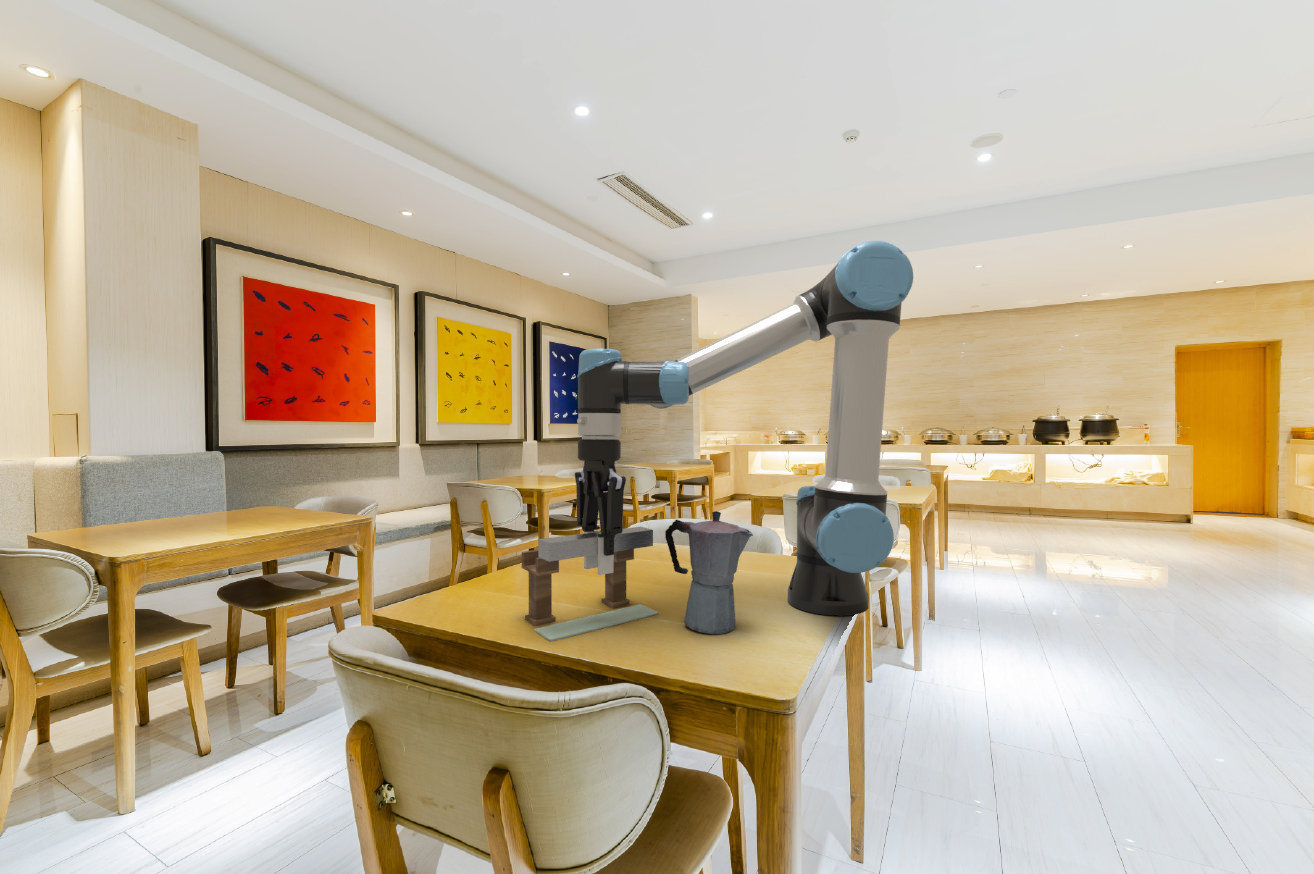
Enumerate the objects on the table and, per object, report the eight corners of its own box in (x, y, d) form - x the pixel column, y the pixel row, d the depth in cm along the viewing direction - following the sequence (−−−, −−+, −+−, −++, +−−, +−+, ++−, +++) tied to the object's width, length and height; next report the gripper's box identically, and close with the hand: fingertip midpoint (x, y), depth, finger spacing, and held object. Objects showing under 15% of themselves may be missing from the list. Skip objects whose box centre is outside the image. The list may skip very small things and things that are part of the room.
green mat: (659, 613, 102) (659, 612, 102) (550, 641, 88) (550, 639, 88) (640, 605, 107) (640, 604, 107) (534, 630, 93) (534, 628, 93)
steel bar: (652, 545, 102) (653, 529, 102) (549, 561, 89) (549, 543, 89) (640, 542, 105) (640, 526, 105) (538, 557, 93) (538, 539, 93)
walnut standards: (634, 605, 106) (634, 544, 106) (538, 628, 94) (537, 559, 94) (614, 597, 112) (614, 538, 112) (521, 617, 100) (521, 551, 100)
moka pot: (752, 639, 89) (752, 516, 89) (658, 632, 92) (659, 513, 92) (753, 619, 99) (754, 508, 98) (668, 613, 102) (669, 505, 102)
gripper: (557, 437, 102) (556, 563, 102) (607, 439, 88) (606, 585, 88) (592, 437, 106) (592, 558, 106) (645, 438, 93) (644, 577, 93)
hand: (598, 570), depth 97 cm, fingers closed on steel bar, 4 cm apart
